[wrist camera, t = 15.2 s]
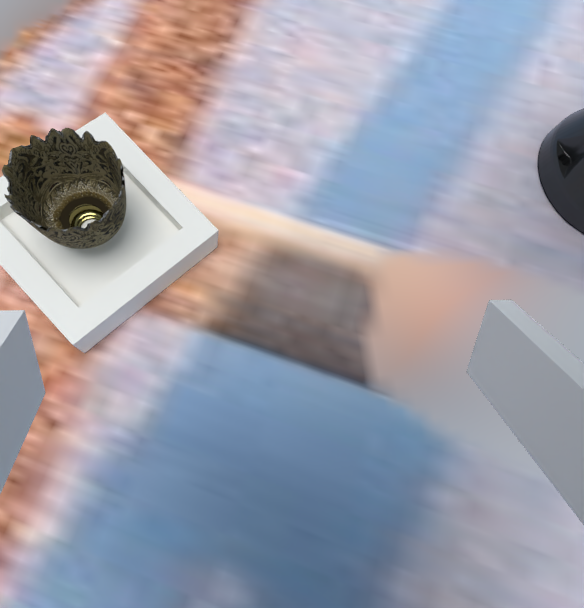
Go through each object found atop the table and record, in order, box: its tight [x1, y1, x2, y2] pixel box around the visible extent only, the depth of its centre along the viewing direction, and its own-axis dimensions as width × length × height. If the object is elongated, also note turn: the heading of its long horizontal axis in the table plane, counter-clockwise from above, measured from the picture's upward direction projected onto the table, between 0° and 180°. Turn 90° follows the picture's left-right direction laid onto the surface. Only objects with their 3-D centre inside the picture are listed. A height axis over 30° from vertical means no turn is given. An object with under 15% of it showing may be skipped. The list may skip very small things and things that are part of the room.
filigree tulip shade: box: [2, 128, 126, 249], centre depth 34 cm, size 8×7×8 cm
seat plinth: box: [0, 113, 218, 353], centre depth 38 cm, size 14×14×4 cm
